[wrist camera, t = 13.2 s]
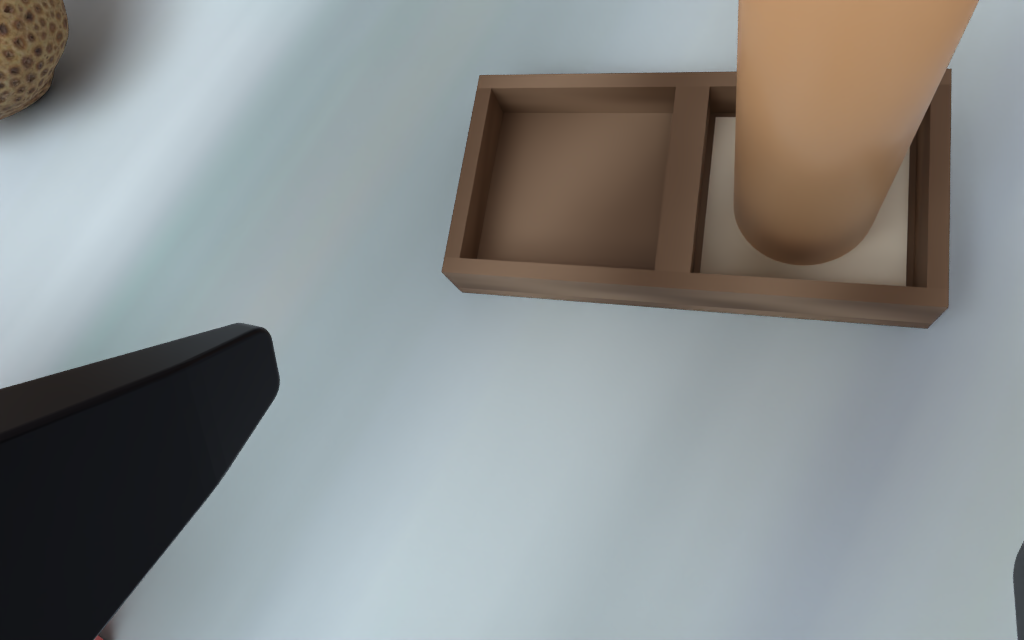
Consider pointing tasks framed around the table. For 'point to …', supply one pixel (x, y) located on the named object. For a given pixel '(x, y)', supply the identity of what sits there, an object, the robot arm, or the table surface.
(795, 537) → the table surface
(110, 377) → the robot arm
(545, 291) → the brown divided tray
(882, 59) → the tan rounded column
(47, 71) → the natural sponge
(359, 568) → the table surface
